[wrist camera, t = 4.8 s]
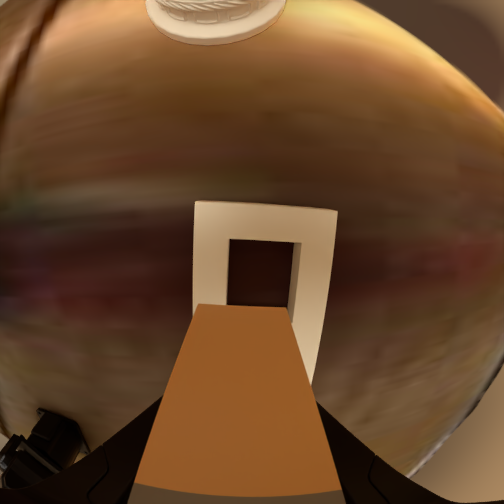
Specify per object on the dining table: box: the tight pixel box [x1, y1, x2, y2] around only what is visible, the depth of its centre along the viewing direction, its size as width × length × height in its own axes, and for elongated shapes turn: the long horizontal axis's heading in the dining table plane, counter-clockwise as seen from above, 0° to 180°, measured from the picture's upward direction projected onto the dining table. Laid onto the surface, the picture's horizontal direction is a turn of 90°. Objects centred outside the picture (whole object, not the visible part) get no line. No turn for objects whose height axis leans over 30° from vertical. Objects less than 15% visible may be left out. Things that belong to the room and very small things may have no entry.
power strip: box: [193, 200, 338, 385], centre depth 22 cm, size 32×9×3 cm, turn 176°
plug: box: [127, 303, 346, 504], centre depth 6 cm, size 4×3×8 cm
